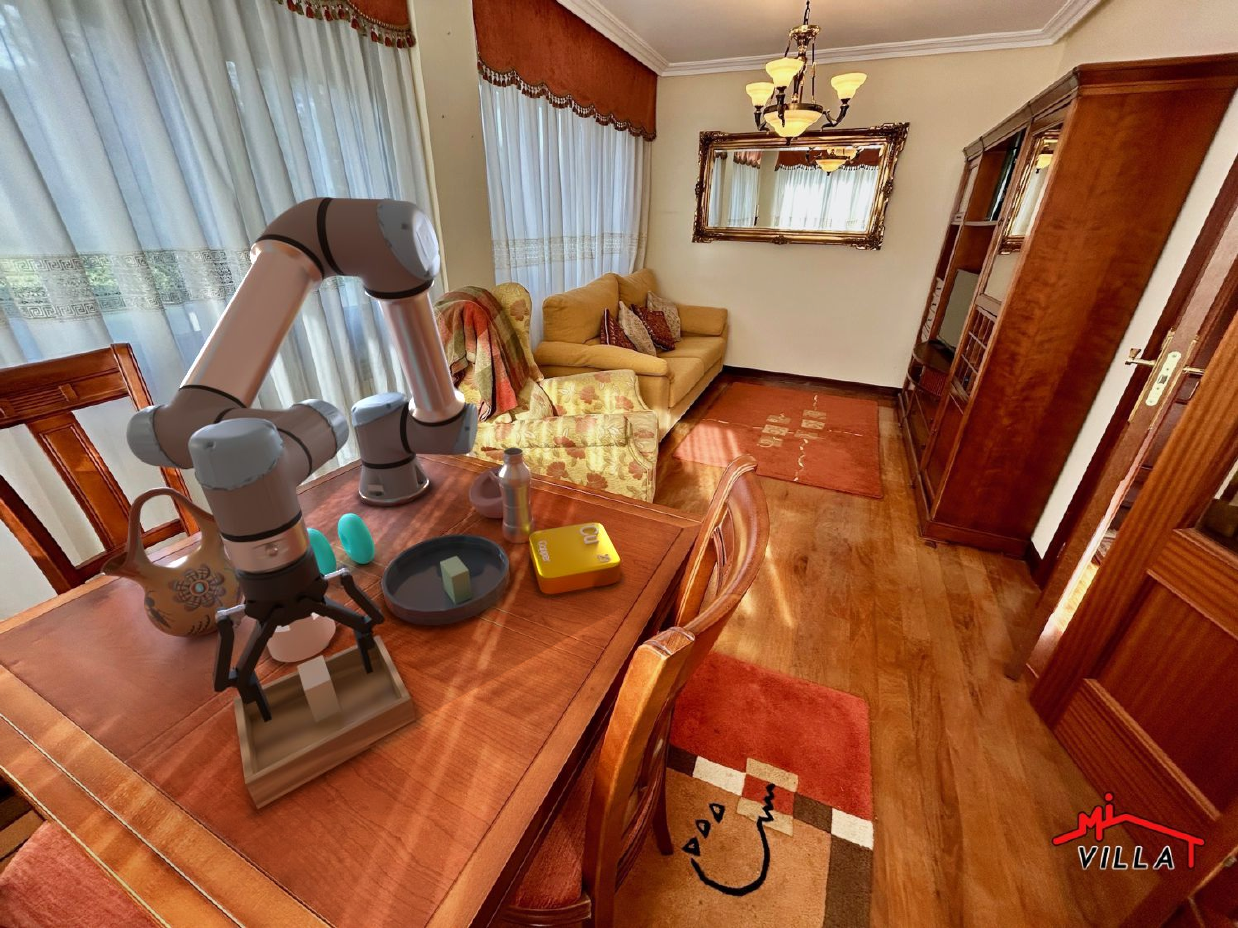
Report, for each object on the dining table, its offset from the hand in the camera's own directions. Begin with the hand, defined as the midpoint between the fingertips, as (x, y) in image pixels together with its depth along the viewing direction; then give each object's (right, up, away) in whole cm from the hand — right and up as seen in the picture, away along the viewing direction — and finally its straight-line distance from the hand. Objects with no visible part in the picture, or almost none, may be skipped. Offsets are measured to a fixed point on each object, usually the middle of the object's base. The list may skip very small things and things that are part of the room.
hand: (319, 688), depth 66 cm
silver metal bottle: (+19, +14, +38) cm, 44 cm away
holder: (+2, -4, -1) cm, 5 cm away
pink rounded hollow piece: (+13, +18, +46) cm, 51 cm away
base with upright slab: (-10, +2, +12) cm, 15 cm away
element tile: (+31, +10, +30) cm, 44 cm away
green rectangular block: (+12, +7, +21) cm, 25 cm away
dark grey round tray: (+9, +8, +24) cm, 27 cm away
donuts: (-12, +10, +27) cm, 32 cm away
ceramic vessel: (-26, +4, +14) cm, 29 cm away
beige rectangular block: (0, -2, +1) cm, 3 cm away
